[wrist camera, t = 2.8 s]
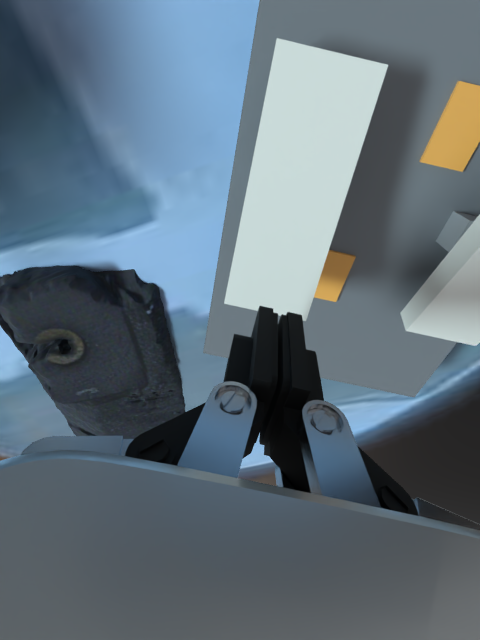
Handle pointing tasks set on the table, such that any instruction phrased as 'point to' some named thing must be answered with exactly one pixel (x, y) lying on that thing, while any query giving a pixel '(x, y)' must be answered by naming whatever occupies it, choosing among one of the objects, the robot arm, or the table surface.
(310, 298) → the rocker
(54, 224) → the table surface
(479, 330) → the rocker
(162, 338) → the dark slate chunk
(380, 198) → the switch box
